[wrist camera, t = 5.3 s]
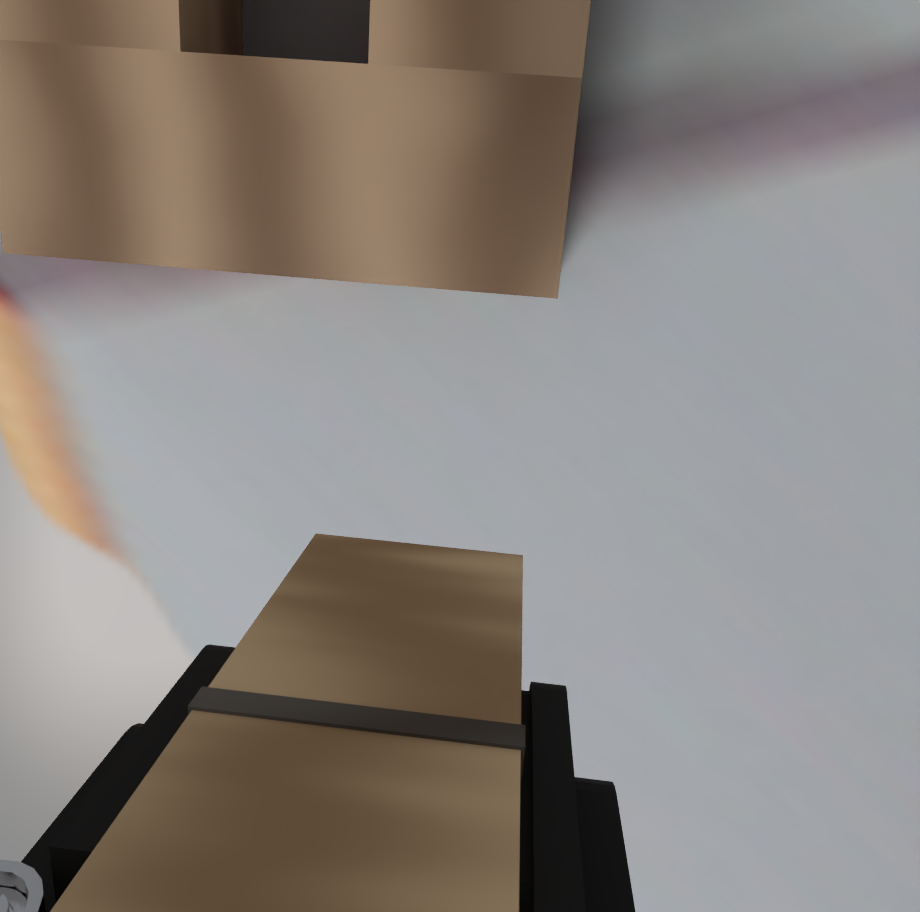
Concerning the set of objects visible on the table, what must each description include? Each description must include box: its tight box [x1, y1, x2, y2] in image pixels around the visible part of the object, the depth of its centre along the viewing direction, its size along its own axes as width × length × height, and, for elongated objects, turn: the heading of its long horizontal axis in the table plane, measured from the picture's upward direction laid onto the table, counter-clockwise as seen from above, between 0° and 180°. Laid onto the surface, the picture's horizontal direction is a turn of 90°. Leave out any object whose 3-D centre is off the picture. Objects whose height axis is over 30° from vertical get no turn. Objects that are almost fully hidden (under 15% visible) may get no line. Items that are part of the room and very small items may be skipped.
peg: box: [50, 534, 525, 912], centre depth 10 cm, size 4×4×10 cm
